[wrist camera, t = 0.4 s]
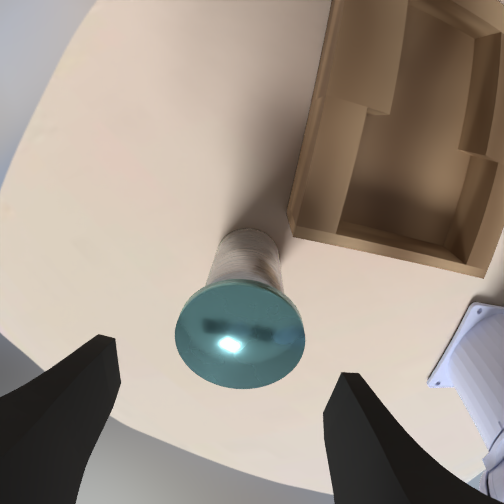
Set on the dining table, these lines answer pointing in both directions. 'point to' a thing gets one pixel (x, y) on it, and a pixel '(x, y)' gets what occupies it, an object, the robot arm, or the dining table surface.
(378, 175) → the keyhole board
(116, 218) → the dining table surface
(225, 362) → the peg
